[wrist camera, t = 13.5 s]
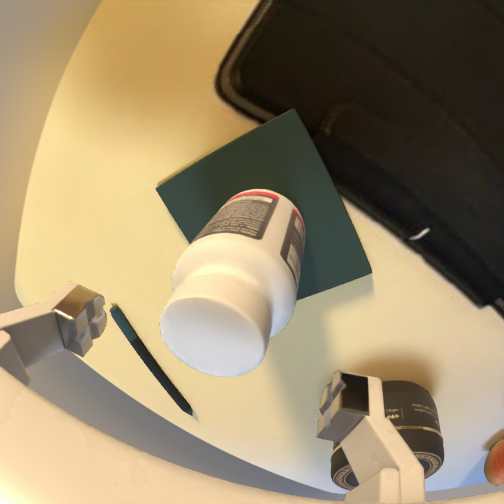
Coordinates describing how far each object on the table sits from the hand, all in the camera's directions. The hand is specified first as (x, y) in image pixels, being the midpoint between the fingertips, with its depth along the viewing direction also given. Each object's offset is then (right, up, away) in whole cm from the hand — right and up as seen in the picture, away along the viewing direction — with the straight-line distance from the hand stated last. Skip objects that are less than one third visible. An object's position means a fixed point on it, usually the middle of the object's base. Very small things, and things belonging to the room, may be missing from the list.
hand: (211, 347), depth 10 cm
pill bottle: (+2, +4, +10) cm, 11 cm away
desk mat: (+2, +5, +10) cm, 11 cm away
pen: (-8, -8, +19) cm, 23 cm away
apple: (+37, -23, +16) cm, 47 cm away
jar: (+14, -12, +16) cm, 24 cm away
